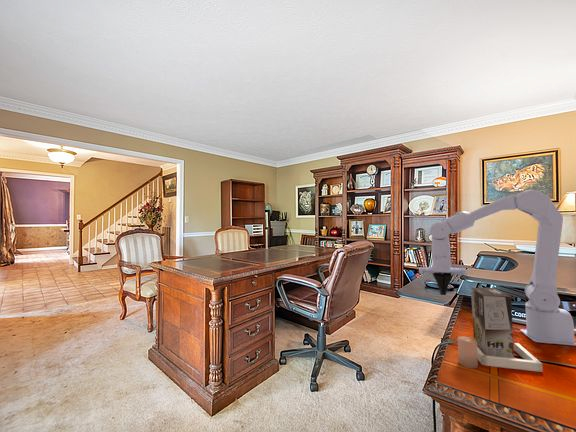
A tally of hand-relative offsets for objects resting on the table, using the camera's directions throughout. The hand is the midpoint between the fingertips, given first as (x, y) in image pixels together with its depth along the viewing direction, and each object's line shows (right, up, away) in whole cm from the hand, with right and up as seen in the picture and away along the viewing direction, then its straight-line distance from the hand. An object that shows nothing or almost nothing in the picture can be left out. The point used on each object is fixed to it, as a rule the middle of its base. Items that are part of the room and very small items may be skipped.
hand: (442, 294), depth 91 cm
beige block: (-10, -10, -26) cm, 30 cm away
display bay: (+1, -9, -24) cm, 26 cm away
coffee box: (+1, -9, -20) cm, 22 cm away
